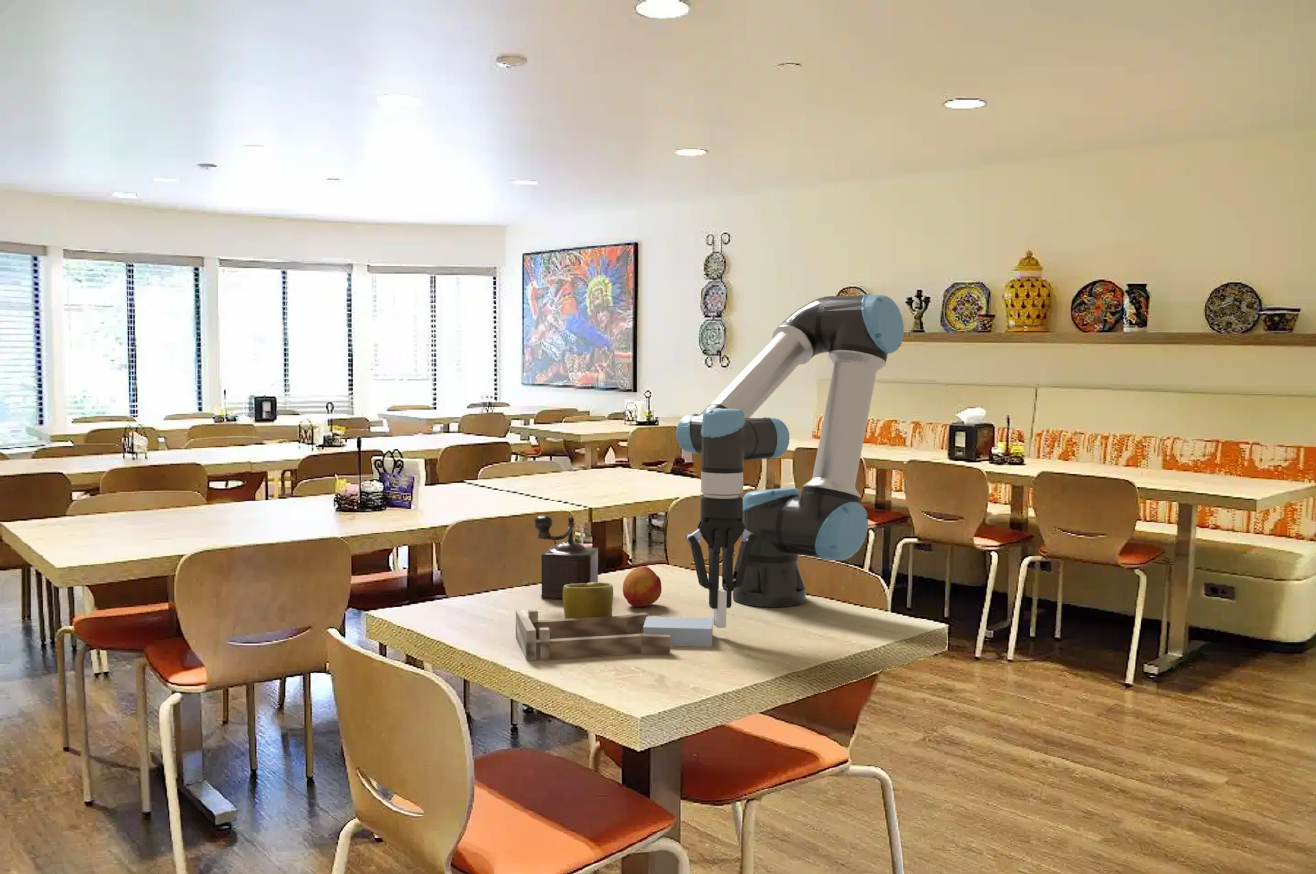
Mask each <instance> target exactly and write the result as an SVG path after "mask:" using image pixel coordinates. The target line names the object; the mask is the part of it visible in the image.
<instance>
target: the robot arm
mask: <svg viewBox="0 0 1316 874" xmlns="http://www.w3.org/2000/svg"><path fill="white" fill-rule="evenodd" d="M904 328H905V327H904V321H903V315H902V313H901V310H900V308H899V306H898V305H897V303H896V302H895V301H894V300H893V298H890V296H887V295H884V294H872V293H867V294H860V295H859V294H857V295H837V296H834V295H831V296H830V295H828V296H823V297H819V298H817V299H814V300H811V301H809V302H808V303H806V304H804V305H803V306H801V307H800V308H798V309H797V310H795V311H794V312H793V313H791V314H790V315H789V316H788V317H786V318H785V319H784V320H783V321H782V322H781V323H780V324H779V325H778V326H777V327H776V328H775V330H773V332H772V339H771V340H770V341H769V342H768V343H767V344H766V345H765V346H764V347H763V349H762V350H761V351H760V352H758V354H756V355H755V357H754V358H753V359H752V360H751V361H750V362H749V363H748V364H747V365H746V366H745V368H743V369H742V370H741V372H739V374H737V375H736V377H735V378H734V379H733V380H732V381H731V382H729V384H728V385H727V386H726V387H725V388H724V389H723V390H722V392H720V393H719V395H717V396H716V397H715V399H714V400H712V402H711V403H710V404H709V405H708V406H707V407H706V408H705V409H704V410H703V411H702V412H701V413H699V414H698V413H693V414H687V415H684V416H683V417H682V418H681V419H680V420H679V422H678V424H677V426H676V433H675V434H676V437H675V438H676V441H677V443H678V445H679V447H680V448H681V449H682V450H683V451H684V452H687V453H691V454H697V455H701V467H700V468H701V472H700V474H701V475H700V492H701V494H703V495H702V496H701V497H700V520H699V523H698V525H697V529H696V530H695V531H693V532H692V533H687V534H686V535H685V541H687V543H688V545H689V546H690V548H691V549H690V550H691V554H692V558H693V563H694V567H695V570H696V571H695V572H696V576H697V581H698V585H699V586H700V587H702V588H704V589H707V590H708V606H709V608H710V609H712V610H713V626H715V627H716V628H718V629H725V628H727V609H731V607H732V600H734V601H735V602H737V603H740V604H743V605H747V606H755V607H768V608H771V607H772V608H776V607H777V608H778V607H779V608H781V607H782V608H783V607H792V606H797V605H801V604H804V603H805V602H806V601H807V590H806V585H805V583H804V579H803V577H802V574H801V573H802V572H801V570H800V566H799V562H798V561H799V556H800V555H801V556H806V557H813V558H818V559H822V560H825V561H831V560H833V561H844V560H848V559H850V558H851V557H853V556H854V555H855V554H856V553H858V552H859V551H860V549H861V547H862V546H863V544H864V542H865V539H866V537H867V533H868V530H869V529H868V528H869V519H868V518H867V517H868V512H867V510H866V509H865V507H864V506H863V505H862V504H861V503H860V502H861V497H862V496H861V495H860V493H859V491H858V490H857V489H856V488H857V487H856V483H857V477H858V474H859V472H858V471H859V467H860V462H861V456H862V451H863V447H864V446H863V444H864V440H865V434H866V429H867V423H868V419H869V413H870V407H871V402H872V397H873V394H874V393H873V391H874V387H875V382H876V376H877V373H878V371H879V370H881V369H883V368H884V367H886V364H887V360H888V354H893V353H895V352H896V351H898V350H899V348H900V347H901V345H902V343H903V341H904V335H905V334H904V333H905V329H904ZM825 353H828V357H829V359H830V360H831V362H832V363H833V368H832V374H831V379H830V385H829V390H828V394H827V400H826V405H825V410H824V415H823V421H822V426H821V431H820V437H819V441H818V442H819V443H818V447H817V452H816V457H815V462H814V467H813V472H812V473H813V474H812V478H811V479H810V480H808V481H807V482H806V483H803V485H802V489H801V492H800V490H799V489H798V488H797V487H783V488H769V489H760V490H753V491H748V492H746V493H745V494H744V461H746V460H747V461H751V460H765V459H766V460H771V459H773V458H778V457H781V456H782V455H784V454H785V452H786V451H787V449H788V447H789V445H790V431H789V429H788V427H787V425H786V424H785V423H784V422H783V421H782V419H779V418H776V417H766V416H764V417H752V416H753V415H754V414H755V413H756V411H758V410H759V408H761V406H762V405H763V404H764V403H765V402H766V401H767V400H768V398H770V397H771V396H772V394H773V393H774V392H775V391H776V390H777V389H778V388H779V387H780V386H781V385H782V383H784V381H785V380H786V379H788V377H789V376H790V375H791V374H792V373H793V371H794V370H795V369H797V367H798V366H799V365H805V364H807V363H809V361H811V359H812V358H814V357H815V356H816V355H820V354H825ZM742 494H744V495H743V497H742V496H741V495H742ZM702 538H703V540H704V541H705V542H706V544H707V549H708V573H707V568H706V567H707V566H706V564H705V559H704V556H703V555H704V554H703V550H702V546H701V542H702ZM739 539H740V540H741V542H740V545H739V548H738V549H739V550H738V553H737V558H736V562H735V566H734V552H735V544H736V543H737V542H738V540H739ZM721 551H722V555H721V557H722V563H721V565H722V574H721V578H722V579H721V587H722V588H720V584H719V583H720V554H721Z"/></svg>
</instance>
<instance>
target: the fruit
mask: <svg viewBox="0 0 1316 874" xmlns="http://www.w3.org/2000/svg"><path fill="white" fill-rule="evenodd" d="M662 590H663V589H662V581H661V577H659V575H657V573H656V572H655V571H654V570H653V569H651V568H650V567H648V566H643V565H642V566H639V567H636V568H634V569H632V570H631V571H629V572H628V574H626V576H625V578H624V580H623V585H622V595H623V597H624V599H625V600H626V601H627V603H628V604H629V605H631V606H632V607H635V608H642V607H648V606H650V605H652V604H654V603H655V602H657V600H659V598H660V597H661V594H662Z"/></svg>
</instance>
